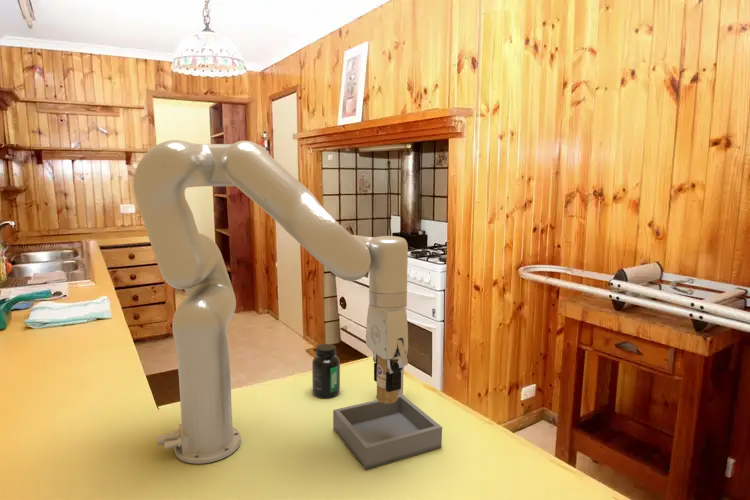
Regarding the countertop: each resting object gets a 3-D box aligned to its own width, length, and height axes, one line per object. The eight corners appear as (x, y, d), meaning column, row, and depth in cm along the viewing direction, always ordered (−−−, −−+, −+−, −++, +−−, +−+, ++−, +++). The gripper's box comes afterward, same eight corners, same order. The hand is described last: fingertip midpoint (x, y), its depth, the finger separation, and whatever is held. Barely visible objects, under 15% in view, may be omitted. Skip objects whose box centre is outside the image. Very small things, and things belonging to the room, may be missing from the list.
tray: (365, 470, 89) (366, 448, 89) (333, 429, 103) (333, 409, 103) (441, 447, 97) (442, 427, 96) (401, 412, 111) (402, 394, 110)
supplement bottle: (341, 398, 118) (341, 351, 116) (313, 399, 117) (312, 352, 115) (338, 385, 124) (338, 341, 123) (312, 387, 123) (311, 342, 121)
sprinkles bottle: (371, 399, 99) (372, 337, 96) (385, 392, 102) (386, 331, 100) (389, 407, 96) (389, 342, 93) (402, 398, 99) (403, 336, 97)
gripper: (353, 291, 101) (353, 373, 104) (392, 311, 86) (391, 406, 89) (384, 287, 105) (384, 367, 107) (427, 306, 90) (425, 398, 93)
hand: (387, 384), depth 98 cm, fingers closed on sprinkles bottle, 4 cm apart
